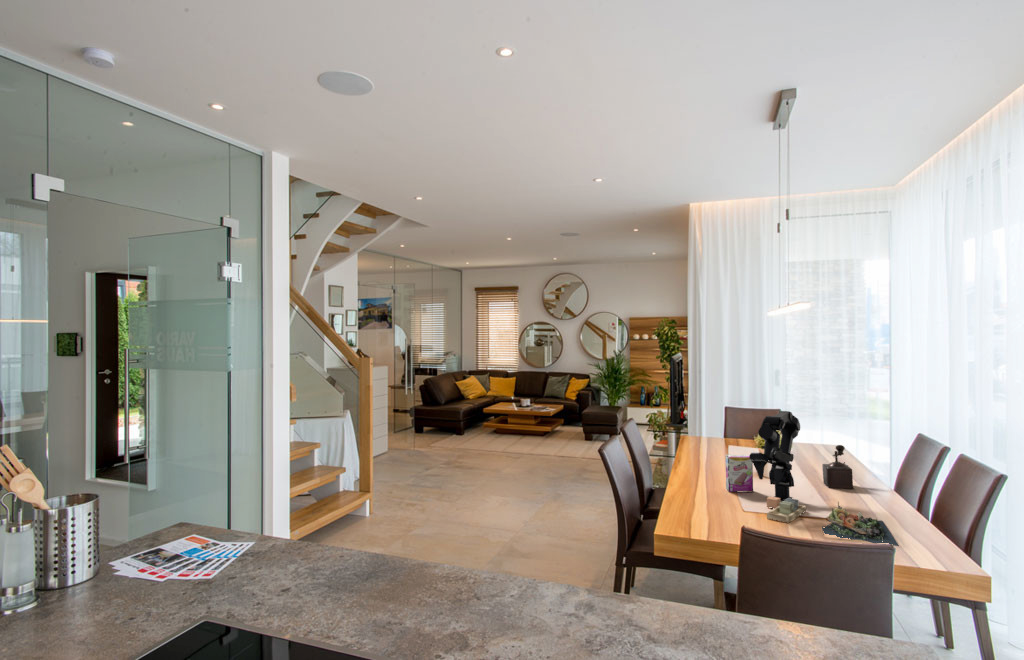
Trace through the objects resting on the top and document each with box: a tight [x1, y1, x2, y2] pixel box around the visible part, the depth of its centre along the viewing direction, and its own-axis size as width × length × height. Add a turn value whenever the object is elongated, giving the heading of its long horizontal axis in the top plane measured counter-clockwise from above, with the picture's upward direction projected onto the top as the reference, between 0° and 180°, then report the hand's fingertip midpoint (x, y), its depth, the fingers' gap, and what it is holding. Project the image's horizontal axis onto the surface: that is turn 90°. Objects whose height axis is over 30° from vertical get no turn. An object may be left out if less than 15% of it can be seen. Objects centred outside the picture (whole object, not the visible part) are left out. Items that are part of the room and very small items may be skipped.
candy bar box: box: [724, 454, 754, 493], centre depth 252 cm, size 11×5×16 cm, turn 84°
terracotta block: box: [766, 496, 781, 508], centre depth 227 cm, size 4×4×4 cm
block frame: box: [766, 498, 807, 524], centre depth 217 cm, size 19×8×5 cm, turn 133°
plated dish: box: [821, 501, 900, 547], centre depth 200 cm, size 35×28×7 cm
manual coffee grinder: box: [821, 444, 854, 490], centre depth 259 cm, size 16×11×18 cm
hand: (769, 482), depth 225 cm, fingers open, 9 cm apart
